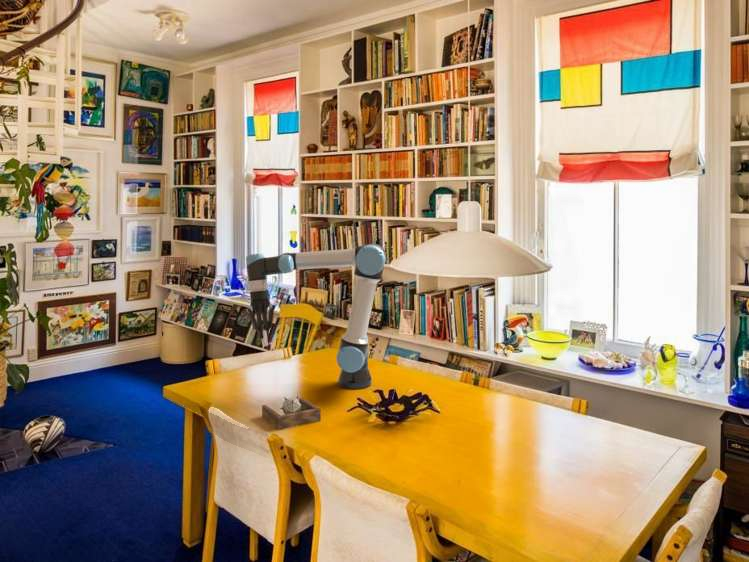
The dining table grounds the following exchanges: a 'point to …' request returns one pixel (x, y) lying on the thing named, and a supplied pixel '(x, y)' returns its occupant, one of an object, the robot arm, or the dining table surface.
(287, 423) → the shallow brown tray
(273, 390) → the dining table surface
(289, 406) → the grey spiked ball
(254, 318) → the robot arm
